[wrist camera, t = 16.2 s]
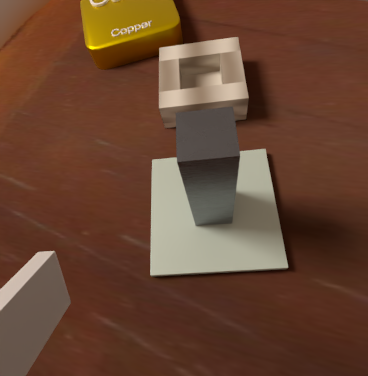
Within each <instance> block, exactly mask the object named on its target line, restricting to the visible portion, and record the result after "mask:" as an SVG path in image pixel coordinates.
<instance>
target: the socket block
mask: <svg viewBox="0 0 368 376" xmlns="http://www.w3.org/2000/svg"><path fill="white" fill-rule="evenodd" d="M248 100H249V97H248V91H247V85H246V80H245V74H244V69H243V63H242V58H241V52H240V47H239V41H238V37H234V38H227V39H219V40H212V41H205V42H198V43H190V44H183V45H176V46H168V47H161V48H159V110H160V113H161V117H162V120H163V123H164V126H165V128H171V127H176V113H178V112H187V111H196V110H205V109H214V108H222V107H231V106H233V110H234V117H235V121H236V120H245V119H246V116H247V108H248Z"/></svg>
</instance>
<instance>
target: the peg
mask: <svg viewBox="0 0 368 376" xmlns="http://www.w3.org/2000/svg"><path fill="white" fill-rule="evenodd" d="M176 145H177V164H178V167H179V171H180V174H181V177H182V181H183V184H184V188H185V191H186V195H187V198H188V201H189V205H190V208H191V212H192V215H193V219H194V222H195V225H196V226H203V225H217V224H231V223H232V221H233V213H234V204H235V196H236V187H237V179H238V170H239V162H240V151H239V144H238V137H237V131H236V124H235V117H234V110H233V106H231V107H222V108H214V109H205V110H196V111H187V112H178V113H176Z"/></svg>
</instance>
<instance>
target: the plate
mask: <svg viewBox="0 0 368 376" xmlns="http://www.w3.org/2000/svg"><path fill="white" fill-rule="evenodd" d="M287 268H288V263H287V258H286V253H285V248H284V243H283V237H282V232H281V227H280V222H279V217H278V212H277V207H276V201H275V196H274V191H273V186H272V181H271V176H270V170H269V165H268V160H267V155H266V150H265V149H259V150H249V151H240V162H239V170H238V179H237V187H236V196H235V204H234V213H233V221H232V223H231V224H217V225H203V226H196V225H195V222H194V219H193V215H192V212H191V208H190V205H189V201H188V198H187V195H186V191H185V188H184V184H183V181H182V177H181V174H180V171H179V167H178V164H177V158H166V159H156V160H152V199H151V262H150V275H151V276H152V277H153V276H171V275H190V274H208V273H226V272H244V271H262V270H281V269H287Z"/></svg>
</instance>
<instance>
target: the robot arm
mask: <svg viewBox="0 0 368 376" xmlns="http://www.w3.org/2000/svg"><path fill="white" fill-rule="evenodd" d="M70 303H71V301H70V297H69V294H68V291H67V288H66V285H65V282H64V278H63V275H62V272H61V269H60V266H59V262H58V259H57V256H56V253H55V251H48V252H38V253H37V254H36V255H35V256H34V257H33V258H32V259H31V260H30V261H29V262H28V263H27V264H26V265H25V266H24V267H23V268H22V269H21V270H20V271H19V272H18V273H17V274H16V275H15V276H14V277H13V278H12V279H10V280H9V281H8V282H7V283H6V284H5V285H4V286H3V287H2V288H1V289H0V376H26V374H27V373H28V371H29V369H30V368H31V366H32V365H33V363H34V361H35V360H36V358H37V356H38V355H39V353H40V352H41V350H42V348H43V347H44V345H45V344H46V342H47V340H48V339H49V337H50V335H51V334H52V332H53V331H54V329H55V327H56V326H57V324H58V323H59V321H60V319H61V318H62V316H63V314H64V313H65V311H66V310H67V308H68V306H69V305H70Z"/></svg>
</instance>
